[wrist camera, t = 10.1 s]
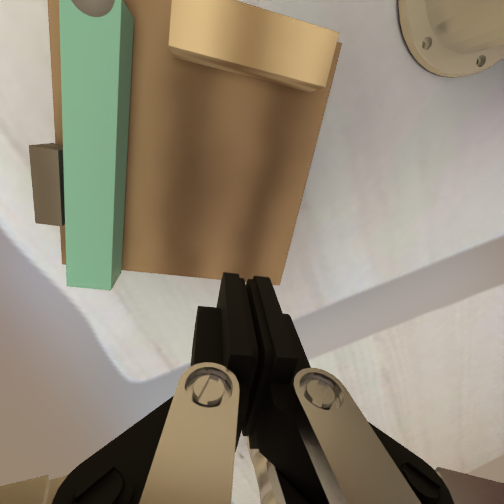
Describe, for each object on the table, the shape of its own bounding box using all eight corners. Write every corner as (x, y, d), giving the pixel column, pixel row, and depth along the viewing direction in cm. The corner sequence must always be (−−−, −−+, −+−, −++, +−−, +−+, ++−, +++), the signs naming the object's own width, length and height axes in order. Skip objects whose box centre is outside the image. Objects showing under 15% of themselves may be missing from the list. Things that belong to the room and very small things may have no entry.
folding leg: (81, -23, 17) (57, -52, 14) (135, -6, 17) (122, -31, 15) (82, 268, 24) (66, 286, 21) (121, 272, 24) (110, 290, 22)
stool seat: (325, 53, 23) (363, 30, 18) (272, 271, 30) (287, 302, 25) (64, -24, 19) (8, -85, 14) (74, 250, 26) (40, 281, 21)
